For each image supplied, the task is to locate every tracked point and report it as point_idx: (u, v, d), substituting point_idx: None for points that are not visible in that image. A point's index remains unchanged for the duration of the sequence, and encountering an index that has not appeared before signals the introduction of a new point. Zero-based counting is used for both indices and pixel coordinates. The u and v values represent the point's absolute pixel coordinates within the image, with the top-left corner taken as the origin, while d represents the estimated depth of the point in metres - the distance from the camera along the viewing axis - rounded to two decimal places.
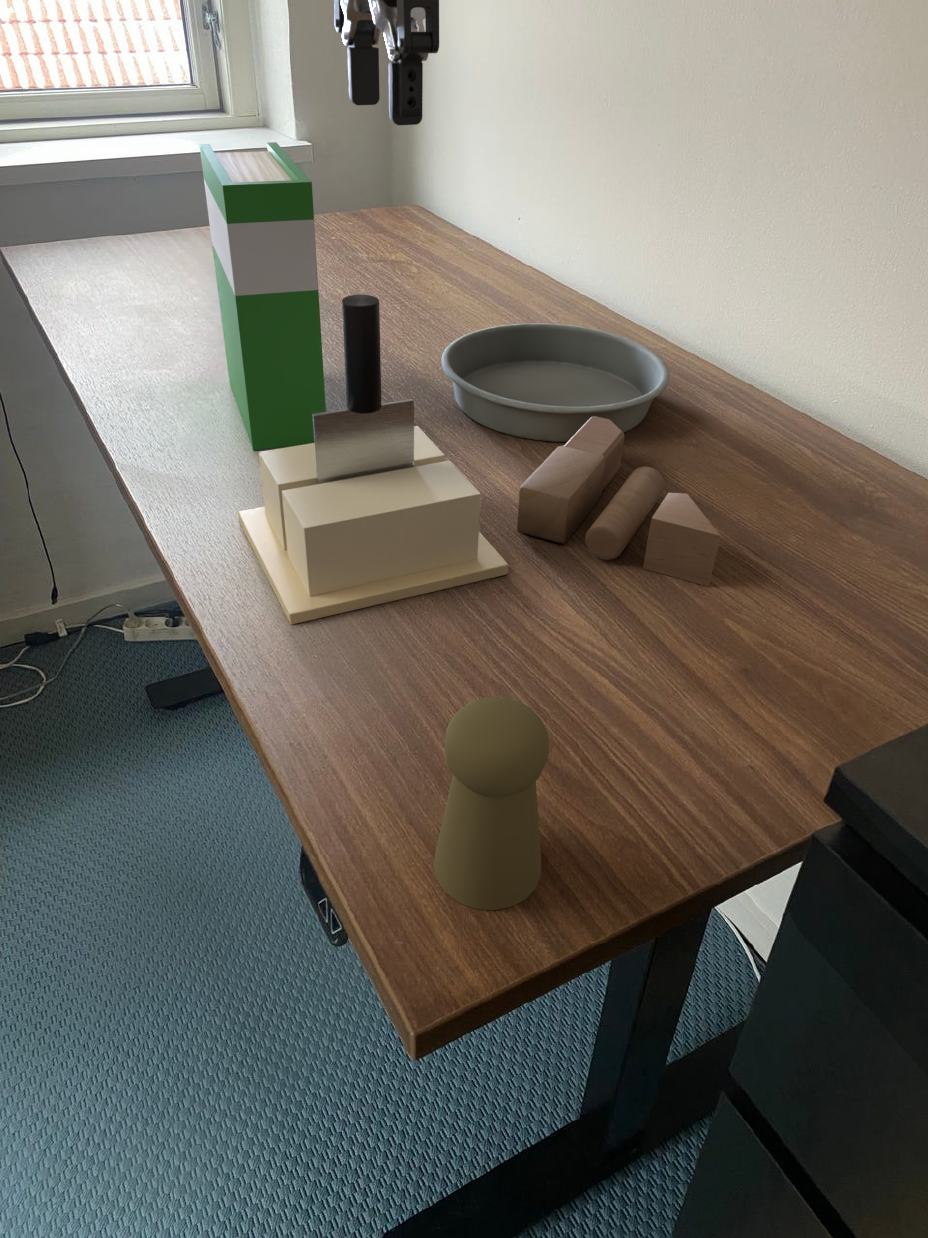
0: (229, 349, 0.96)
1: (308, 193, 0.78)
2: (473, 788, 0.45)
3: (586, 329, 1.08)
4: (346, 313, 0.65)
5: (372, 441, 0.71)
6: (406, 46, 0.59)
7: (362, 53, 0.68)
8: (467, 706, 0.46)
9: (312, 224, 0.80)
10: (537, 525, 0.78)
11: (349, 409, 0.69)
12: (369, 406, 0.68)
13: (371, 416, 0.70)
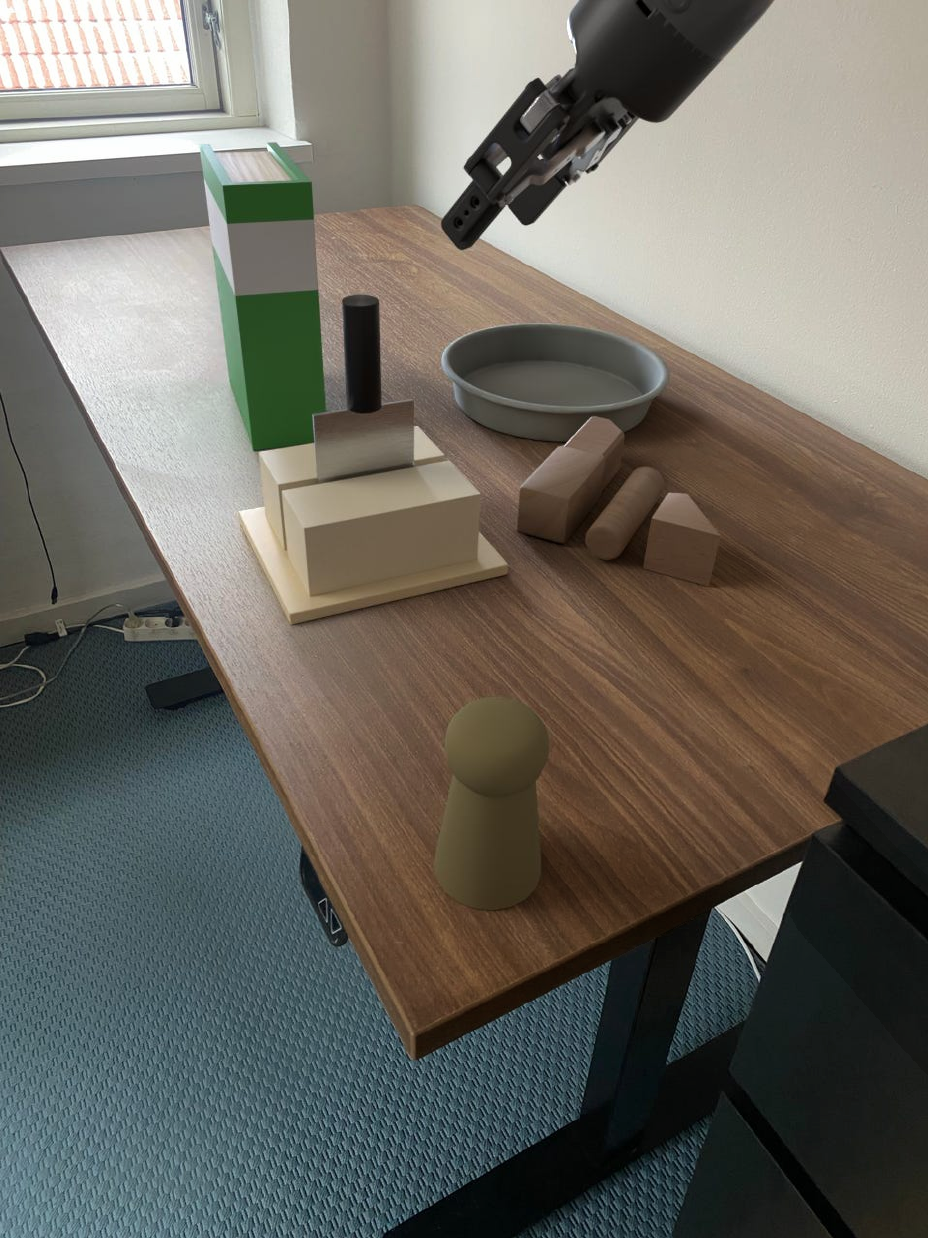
0: (229, 349, 0.96)
1: (308, 193, 0.78)
2: (473, 788, 0.45)
3: (586, 329, 1.08)
4: (346, 313, 0.65)
5: (372, 441, 0.71)
6: (467, 166, 0.50)
7: None
8: (467, 706, 0.46)
9: (312, 224, 0.80)
10: (537, 525, 0.78)
11: (349, 409, 0.69)
12: (369, 406, 0.68)
13: (371, 416, 0.70)
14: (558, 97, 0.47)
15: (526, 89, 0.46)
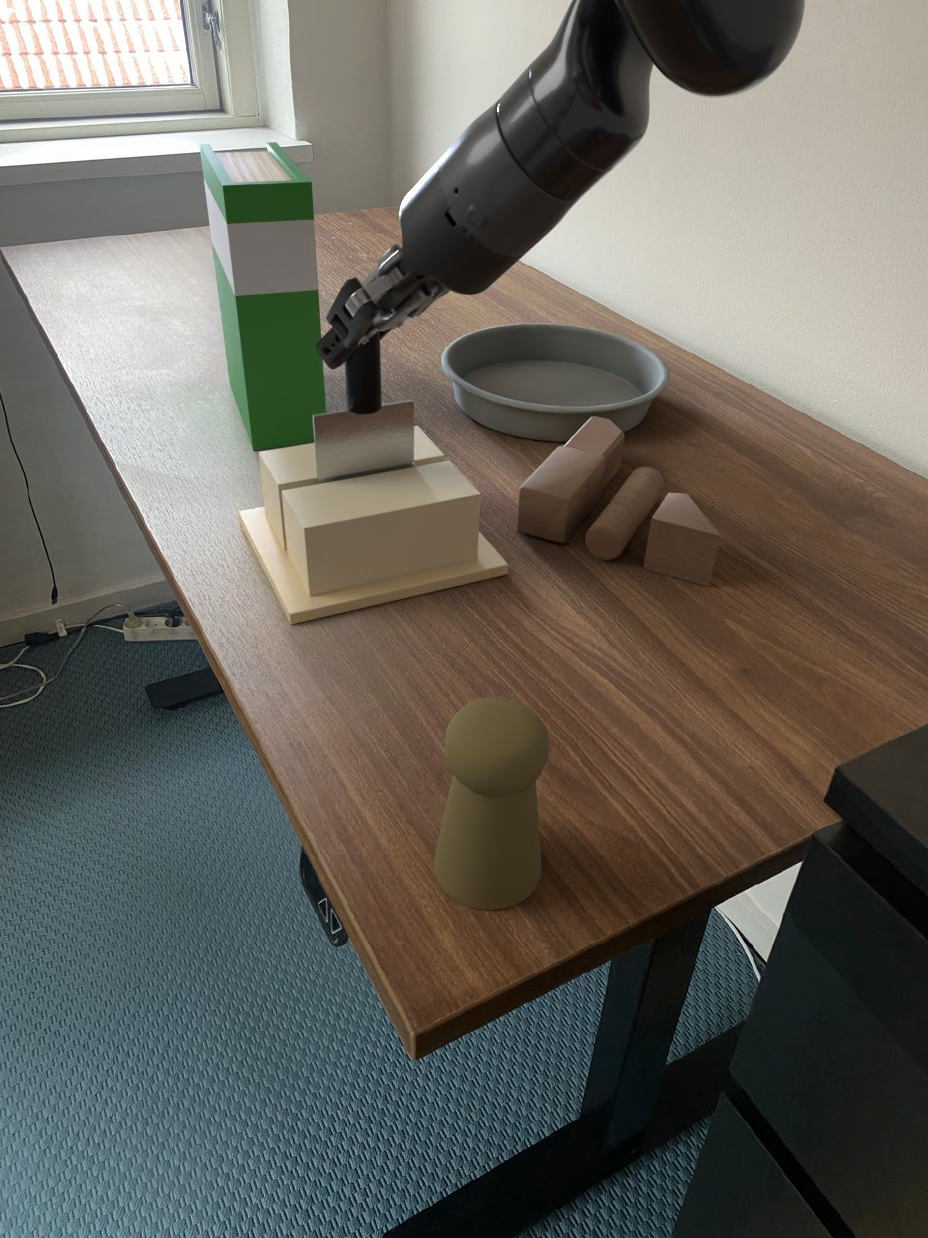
0: (229, 349, 0.96)
1: (308, 193, 0.78)
2: (473, 788, 0.45)
3: (586, 329, 1.08)
4: None
5: (372, 442, 0.72)
6: (328, 318, 0.62)
7: None
8: (467, 706, 0.46)
9: (312, 224, 0.80)
10: (537, 525, 0.78)
11: (349, 410, 0.69)
12: (369, 407, 0.68)
13: (371, 417, 0.70)
14: (373, 288, 0.57)
15: (341, 289, 0.57)
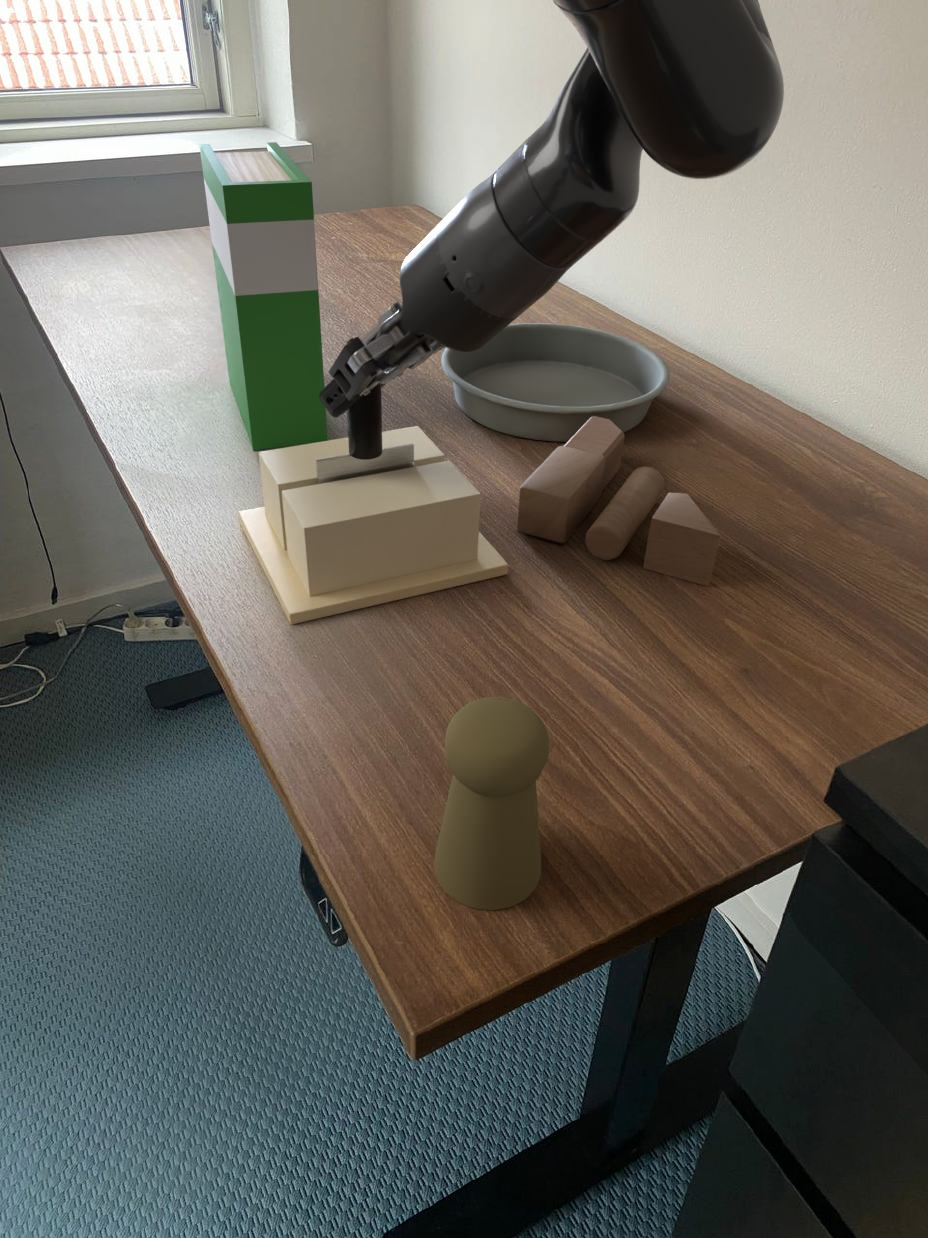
0: (229, 349, 0.96)
1: (308, 193, 0.78)
2: (473, 788, 0.45)
3: (586, 329, 1.08)
4: None
5: None
6: (331, 372, 0.64)
7: None
8: (467, 706, 0.46)
9: (312, 224, 0.80)
10: (537, 525, 0.78)
11: (351, 455, 0.71)
12: (370, 452, 0.71)
13: (372, 461, 0.72)
14: (375, 347, 0.60)
15: (344, 348, 0.59)
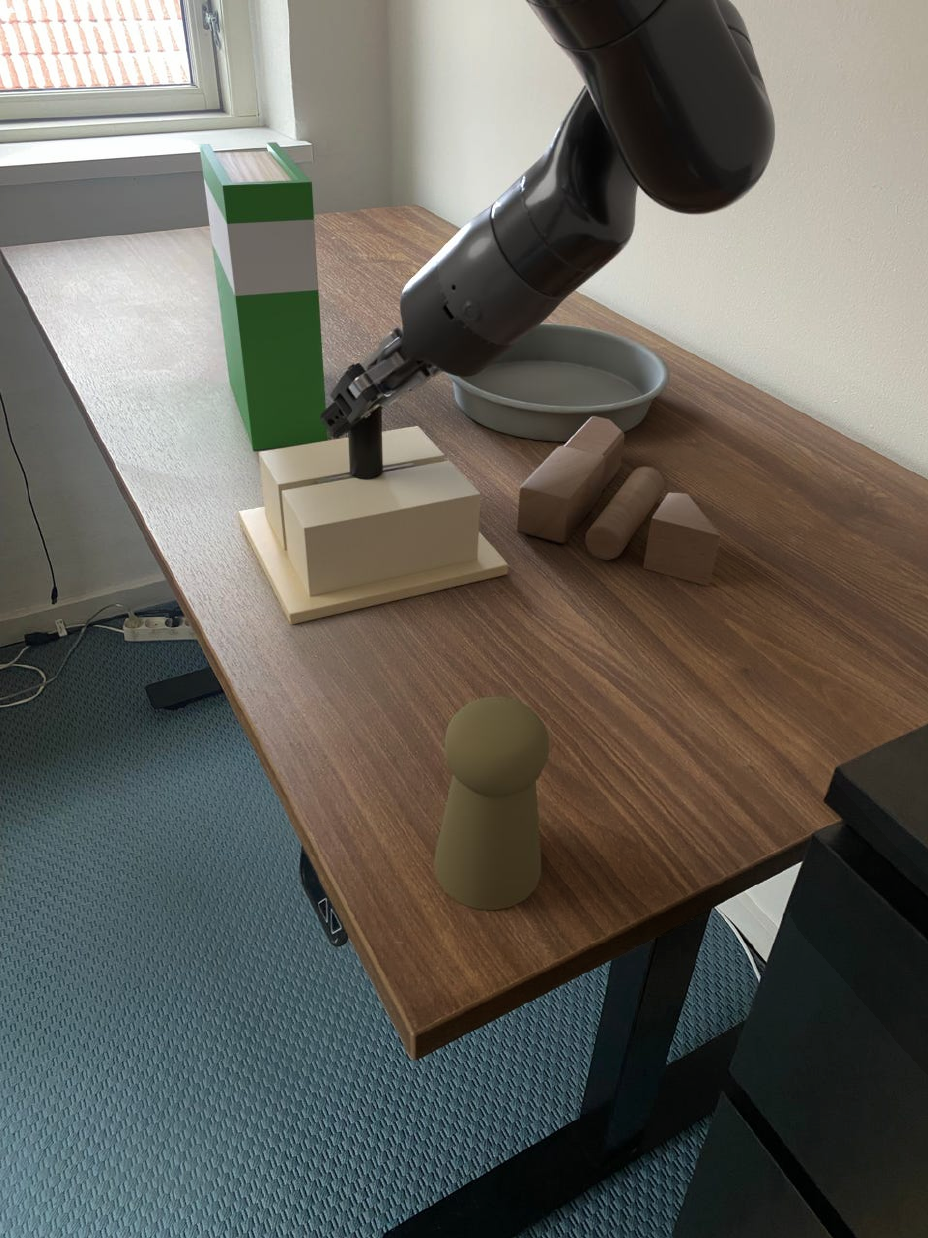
0: (229, 349, 0.96)
1: (308, 193, 0.78)
2: (473, 788, 0.45)
3: (586, 329, 1.08)
4: None
5: None
6: (332, 395, 0.65)
7: None
8: (467, 706, 0.46)
9: (312, 224, 0.80)
10: (537, 525, 0.78)
11: (352, 475, 0.72)
12: (371, 472, 0.72)
13: None
14: (375, 372, 0.61)
15: (345, 374, 0.60)
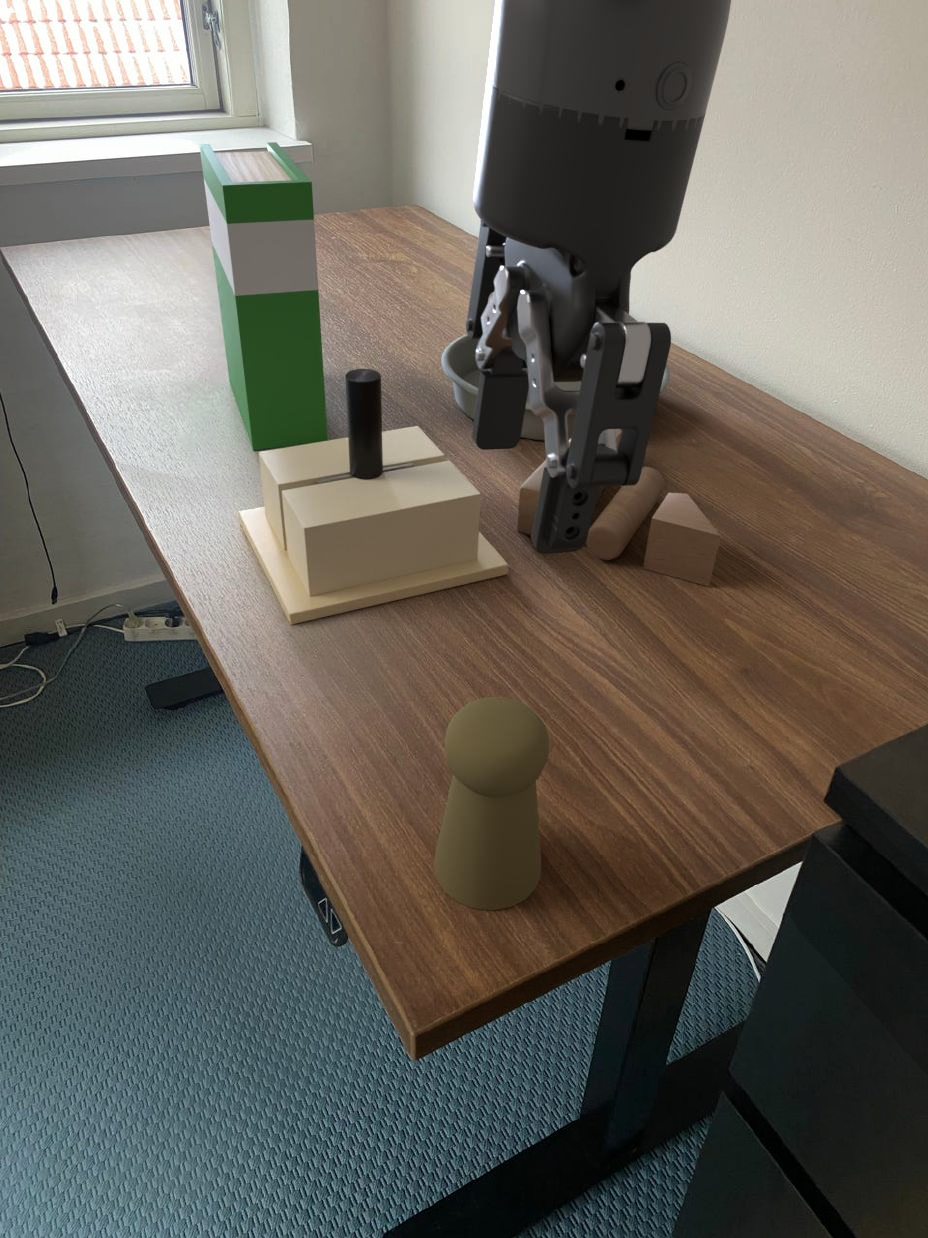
0: (229, 349, 0.96)
1: (308, 193, 0.78)
2: (473, 788, 0.45)
3: None
4: (349, 388, 0.68)
5: None
6: (581, 482, 0.33)
7: (503, 384, 0.42)
8: (467, 706, 0.46)
9: (312, 224, 0.80)
10: None
11: (352, 475, 0.72)
12: (371, 472, 0.72)
13: None
14: (619, 317, 0.31)
15: (606, 349, 0.30)
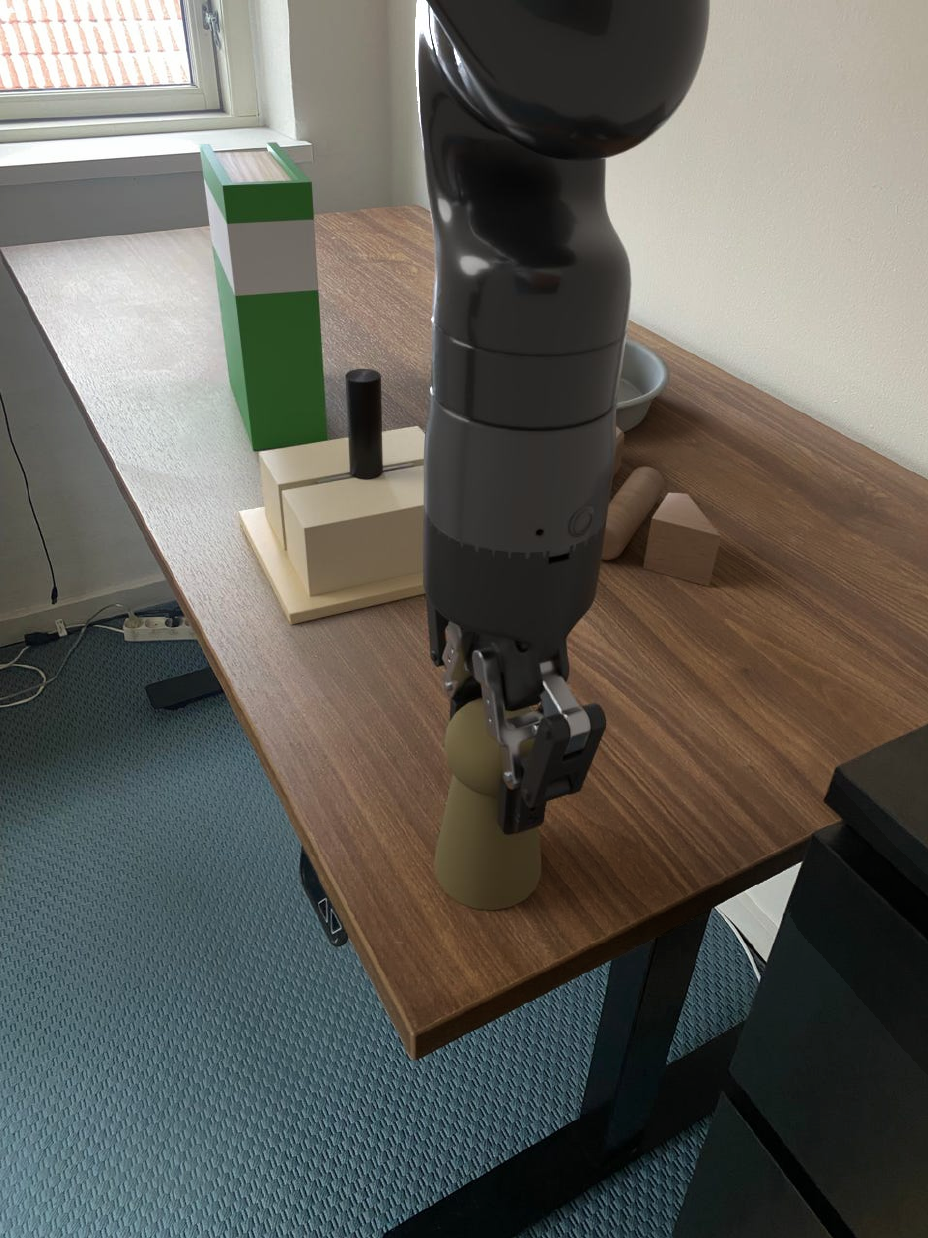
0: (229, 349, 0.96)
1: (308, 193, 0.78)
2: (473, 787, 0.45)
3: None
4: (349, 388, 0.68)
5: None
6: (535, 804, 0.40)
7: None
8: (467, 705, 0.46)
9: (312, 224, 0.80)
10: None
11: (352, 475, 0.72)
12: (371, 472, 0.72)
13: None
14: (563, 699, 0.38)
15: (556, 744, 0.37)
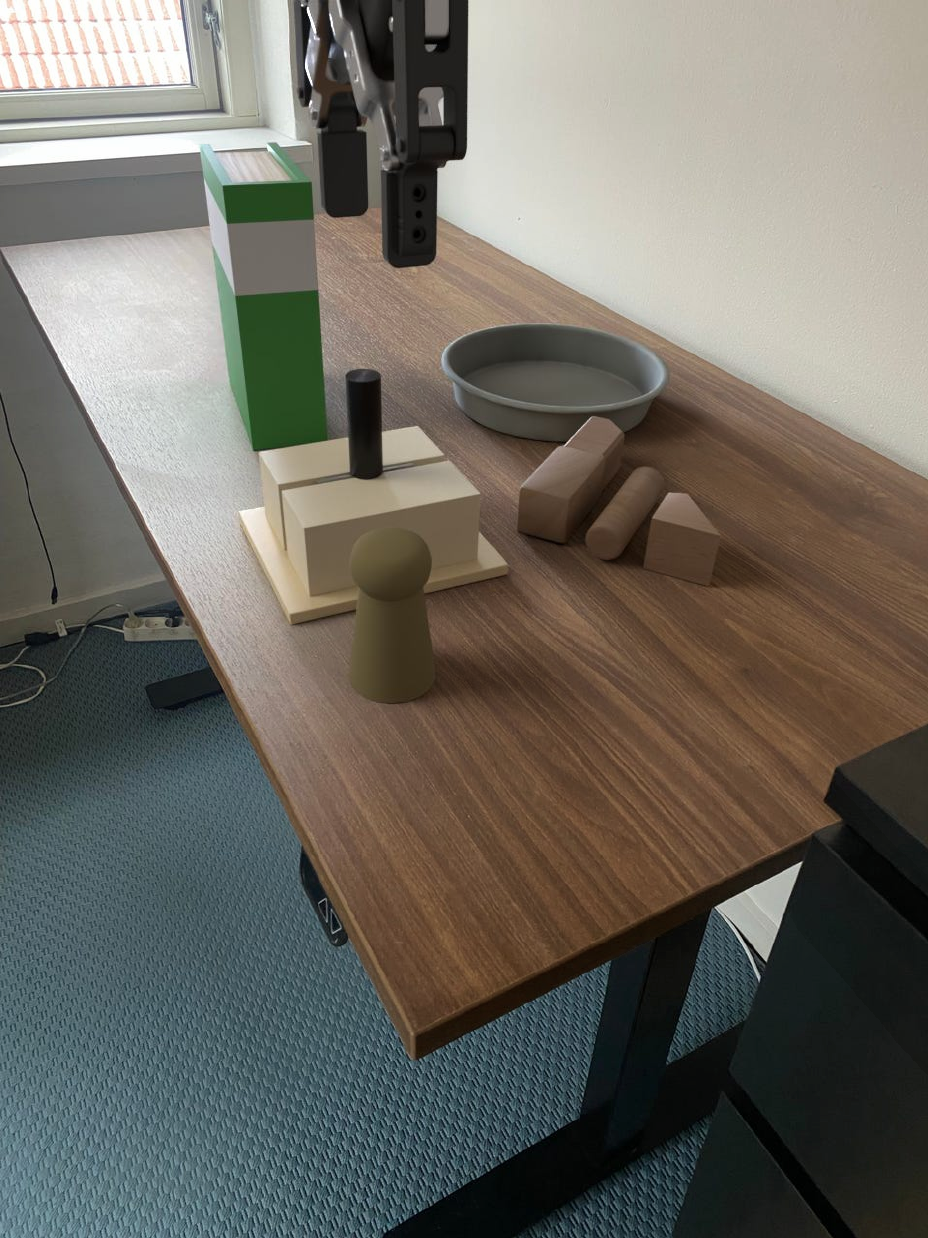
0: (229, 349, 0.96)
1: (308, 193, 0.78)
2: (370, 592, 0.57)
3: (586, 329, 1.08)
4: (349, 388, 0.68)
5: None
6: (411, 152, 0.34)
7: (340, 141, 0.43)
8: (368, 532, 0.59)
9: (312, 224, 0.80)
10: (537, 525, 0.78)
11: (352, 475, 0.72)
12: (371, 472, 0.72)
13: None
14: None
15: None
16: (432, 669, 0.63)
